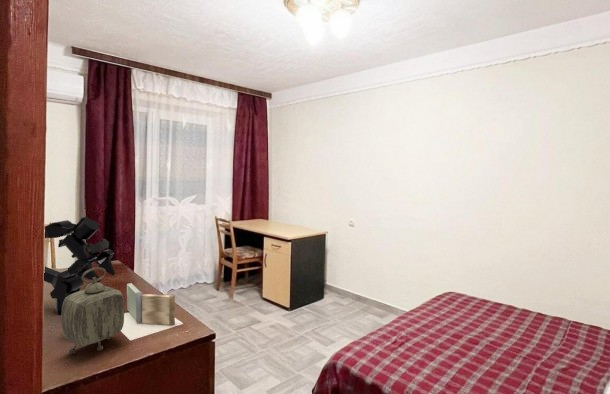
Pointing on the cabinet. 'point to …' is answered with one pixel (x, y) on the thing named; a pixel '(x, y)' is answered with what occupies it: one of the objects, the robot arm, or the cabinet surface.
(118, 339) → the cabinet surface
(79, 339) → the tabletop clock
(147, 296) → the brown flat square block
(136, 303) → the folding fence panel
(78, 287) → the robot arm
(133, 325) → the card
